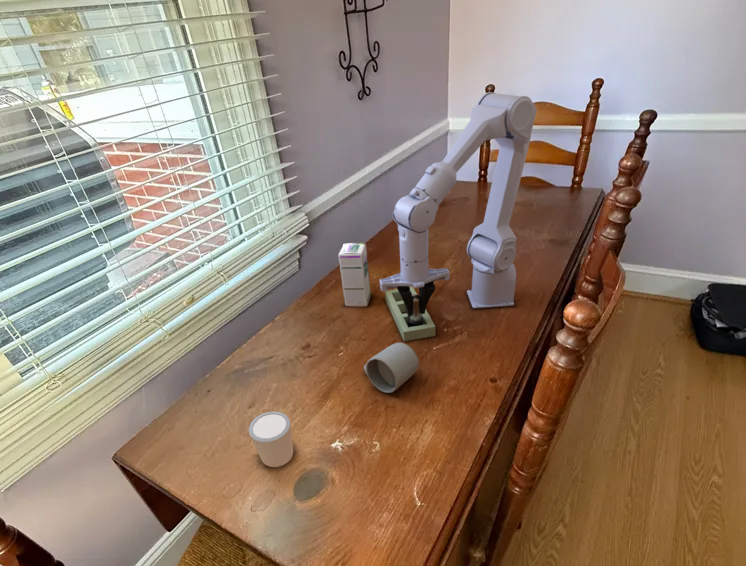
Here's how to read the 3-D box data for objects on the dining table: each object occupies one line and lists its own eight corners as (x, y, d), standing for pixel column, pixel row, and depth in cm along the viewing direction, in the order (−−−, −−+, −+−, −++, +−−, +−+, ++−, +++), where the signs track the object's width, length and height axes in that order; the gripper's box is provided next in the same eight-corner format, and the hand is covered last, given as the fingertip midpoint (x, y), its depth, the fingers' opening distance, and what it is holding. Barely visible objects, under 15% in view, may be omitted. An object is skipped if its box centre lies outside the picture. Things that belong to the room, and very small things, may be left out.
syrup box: (367, 307, 117) (362, 252, 108) (344, 306, 118) (337, 253, 110) (371, 295, 121) (366, 242, 113) (348, 294, 123) (342, 242, 114)
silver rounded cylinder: (422, 320, 108) (422, 290, 103) (424, 329, 105) (424, 298, 100) (407, 322, 108) (406, 291, 103) (408, 330, 105) (407, 299, 100)
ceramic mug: (422, 376, 94) (421, 344, 89) (397, 399, 89) (395, 367, 85) (380, 358, 100) (377, 328, 96) (355, 379, 96) (351, 348, 91)
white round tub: (258, 442, 84) (249, 413, 80) (296, 436, 84) (290, 408, 80) (256, 472, 79) (246, 444, 75) (297, 467, 79) (290, 438, 75)
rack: (412, 295, 119) (412, 286, 118) (435, 335, 104) (435, 326, 103) (385, 299, 119) (384, 291, 117) (403, 341, 104) (403, 332, 102)
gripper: (383, 271, 93) (387, 328, 101) (455, 259, 93) (453, 316, 101) (376, 255, 98) (380, 311, 106) (444, 244, 99) (442, 300, 107)
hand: (415, 312), depth 104 cm, fingers closed on silver rounded cylinder, 2 cm apart
